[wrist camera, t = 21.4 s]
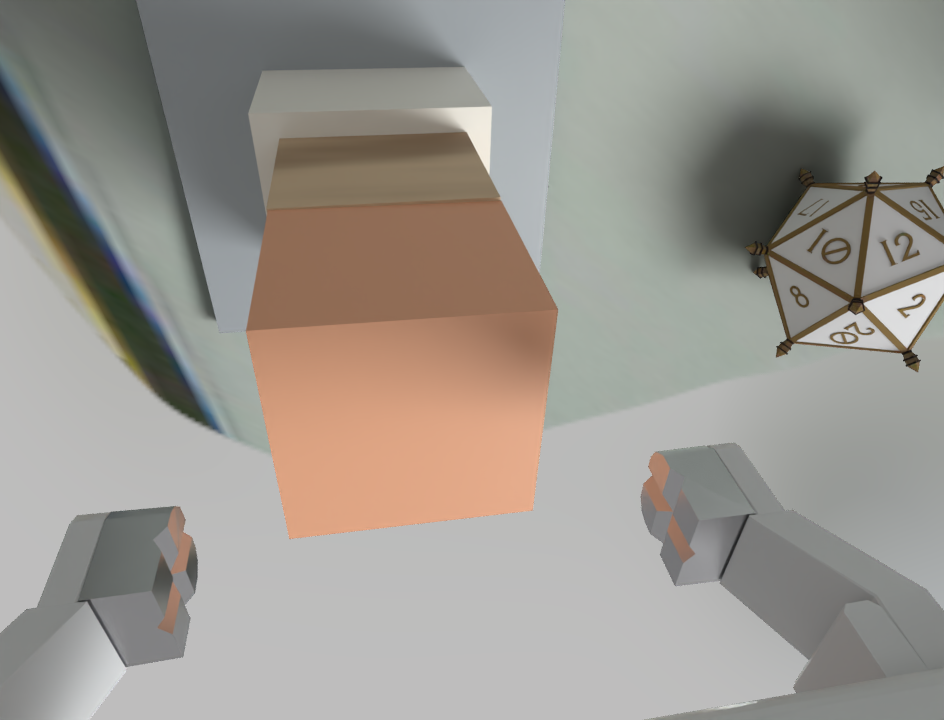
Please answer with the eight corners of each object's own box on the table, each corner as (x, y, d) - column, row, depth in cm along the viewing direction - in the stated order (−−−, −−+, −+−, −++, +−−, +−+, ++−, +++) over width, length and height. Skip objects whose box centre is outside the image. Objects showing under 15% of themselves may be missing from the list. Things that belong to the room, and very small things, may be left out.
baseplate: (129, -54, 20) (71, -32, 16) (562, -50, 23) (622, -30, 18) (221, 323, 29) (201, 408, 24) (532, 300, 31) (567, 374, 26)
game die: (779, 218, 35) (873, 390, 32) (668, 231, 31) (767, 430, 28) (948, 97, 28) (1087, 307, 25) (833, 92, 23) (987, 344, 21)
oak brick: (279, 138, 19) (266, 208, 15) (466, 132, 20) (500, 197, 16) (304, 301, 22) (299, 394, 18) (464, 289, 23) (492, 376, 19)
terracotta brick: (267, 210, 15) (245, 331, 11) (501, 200, 16) (558, 309, 12) (297, 395, 18) (289, 539, 14) (490, 379, 19) (532, 510, 15)
